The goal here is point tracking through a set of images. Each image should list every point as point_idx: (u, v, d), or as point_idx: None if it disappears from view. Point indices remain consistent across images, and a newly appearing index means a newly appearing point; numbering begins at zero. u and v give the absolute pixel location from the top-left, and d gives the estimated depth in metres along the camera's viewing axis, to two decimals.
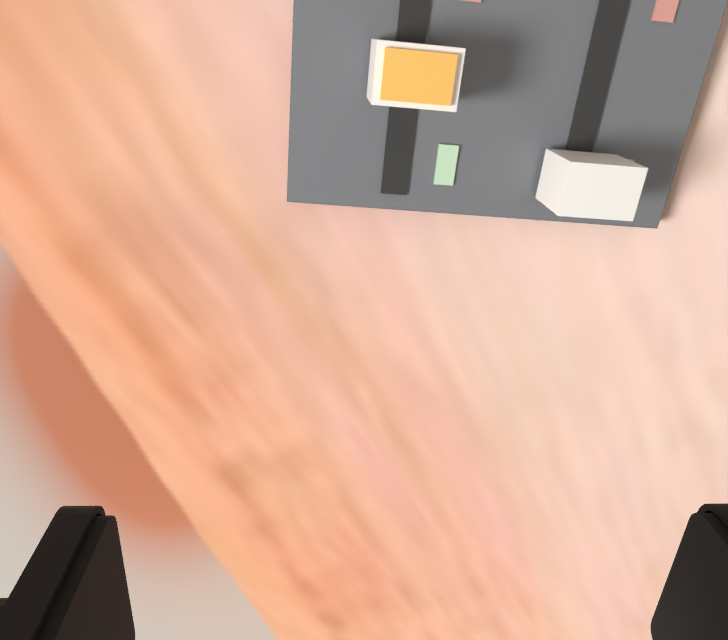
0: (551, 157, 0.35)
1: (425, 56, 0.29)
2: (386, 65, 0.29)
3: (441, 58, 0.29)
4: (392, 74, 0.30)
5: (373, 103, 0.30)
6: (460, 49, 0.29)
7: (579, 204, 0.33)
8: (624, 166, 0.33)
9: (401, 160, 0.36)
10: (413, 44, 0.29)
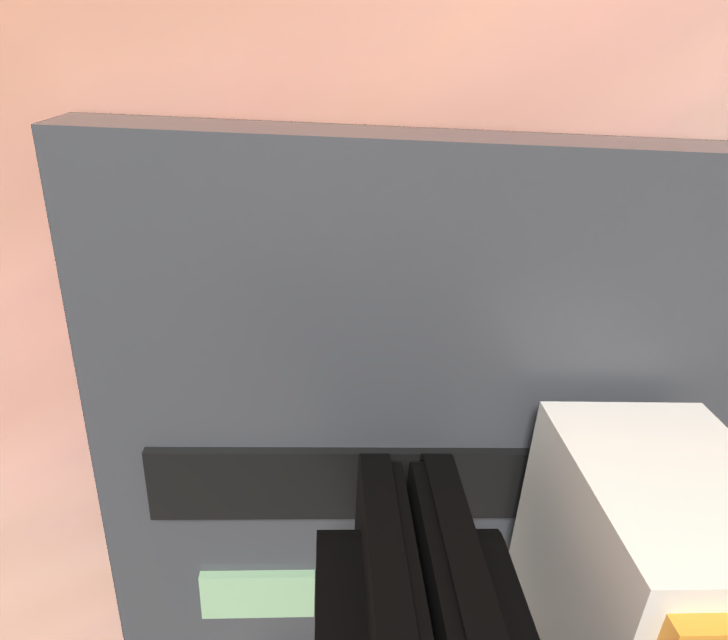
0: None
1: None
2: None
3: None
4: None
5: (653, 595, 0.07)
6: None
7: None
8: None
9: (257, 497, 0.12)
10: None
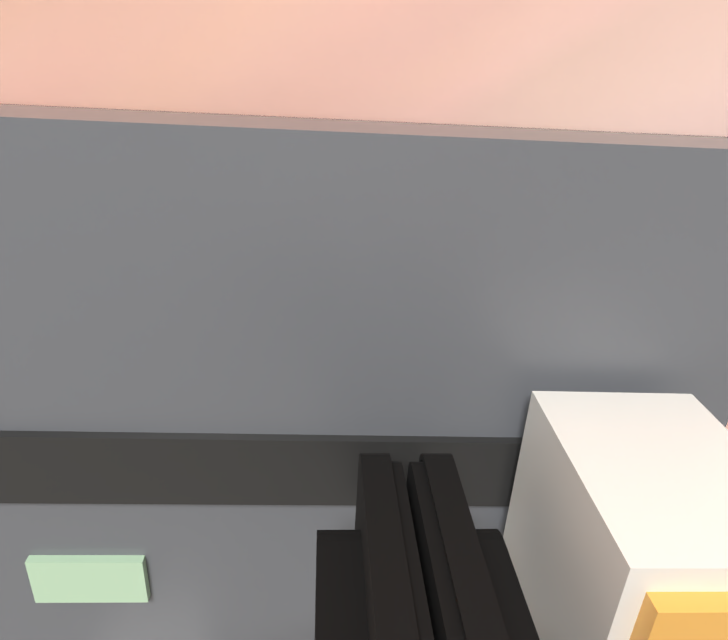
0: None
1: None
2: None
3: None
4: None
5: (633, 573, 0.07)
6: None
7: None
8: None
9: (70, 481, 0.12)
10: None
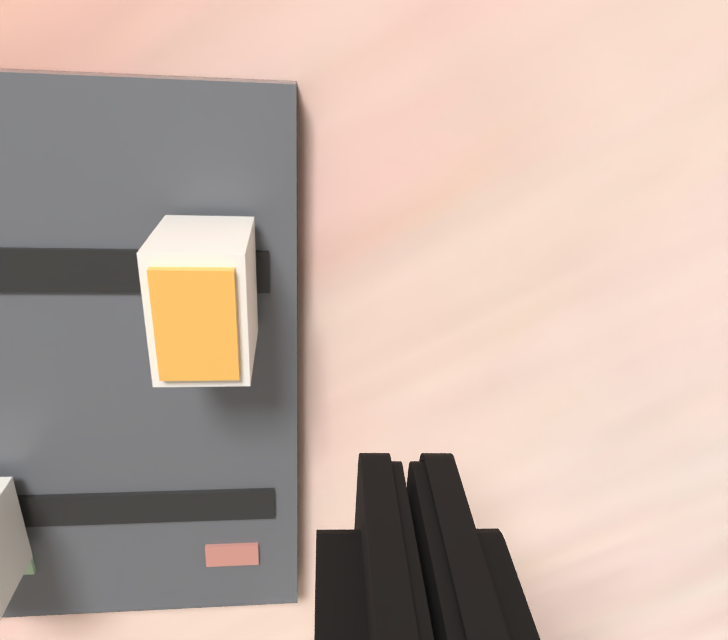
0: None
1: (229, 334, 0.18)
2: (204, 275, 0.17)
3: (229, 358, 0.18)
4: (192, 286, 0.17)
5: (139, 256, 0.17)
6: (247, 378, 0.19)
7: None
8: None
9: None
10: (245, 311, 0.18)
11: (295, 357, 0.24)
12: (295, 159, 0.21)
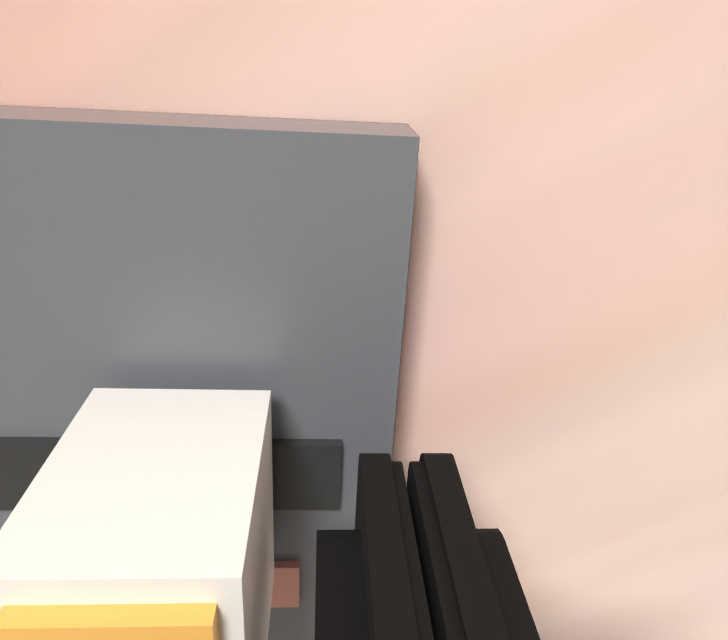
0: None
1: None
2: (138, 633, 0.07)
3: None
4: None
5: None
6: None
7: None
8: None
9: None
10: None
11: None
12: (404, 281, 0.10)
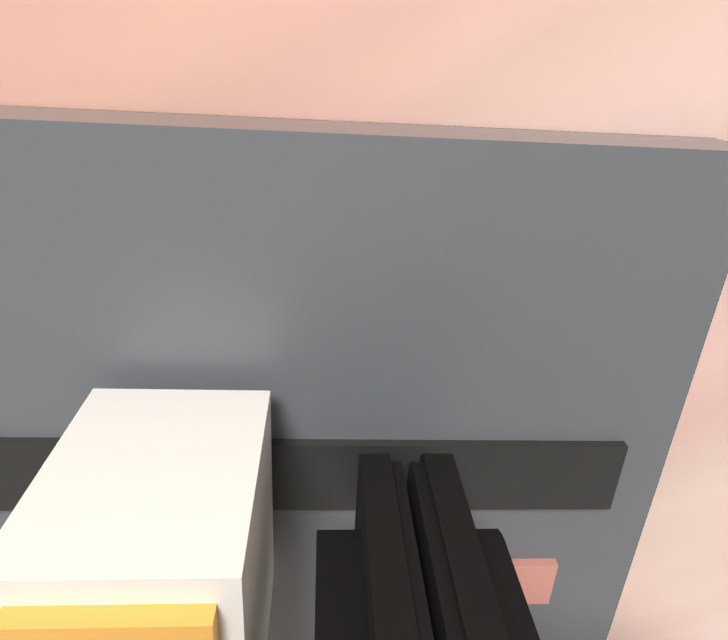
0: None
1: None
2: (138, 635, 0.07)
3: None
4: None
5: None
6: None
7: None
8: None
9: (10, 488, 0.11)
10: None
11: (618, 597, 0.14)
12: (718, 290, 0.11)
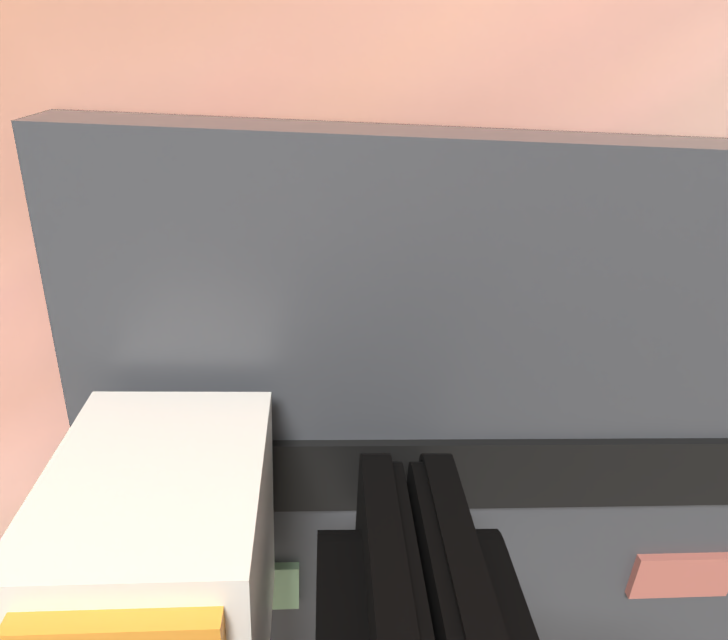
0: None
1: None
2: (145, 639, 0.07)
3: None
4: None
5: None
6: None
7: None
8: None
9: None
10: None
11: None
12: None
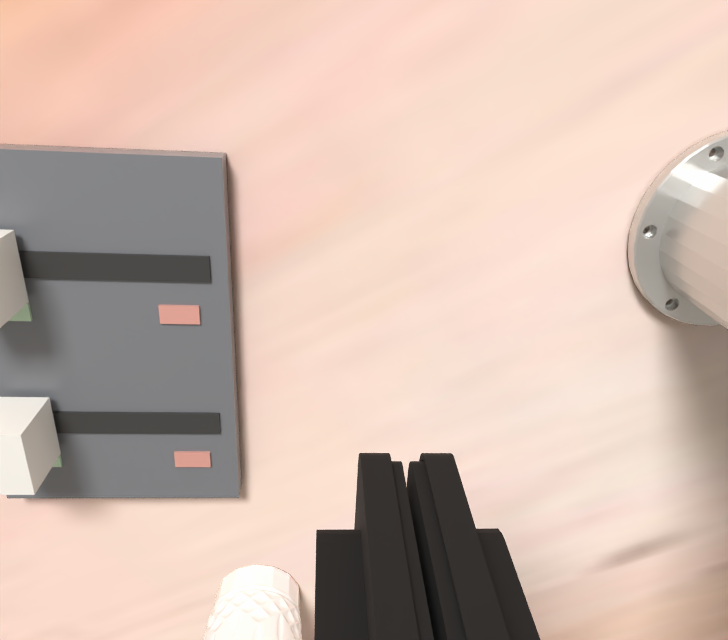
0: (36, 407, 0.37)
1: None
2: None
3: None
4: None
5: None
6: None
7: None
8: (30, 476, 0.36)
9: None
10: None
11: (229, 324, 0.37)
12: (223, 201, 0.34)
